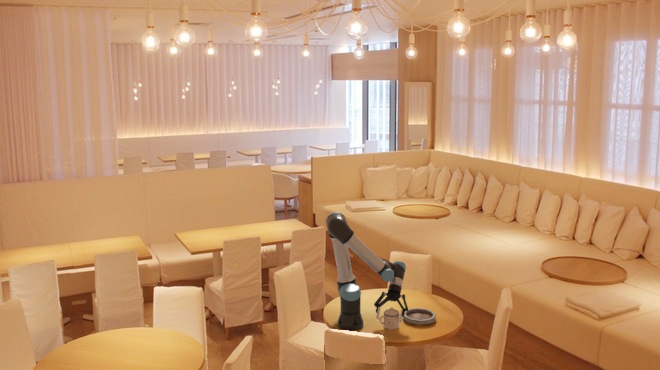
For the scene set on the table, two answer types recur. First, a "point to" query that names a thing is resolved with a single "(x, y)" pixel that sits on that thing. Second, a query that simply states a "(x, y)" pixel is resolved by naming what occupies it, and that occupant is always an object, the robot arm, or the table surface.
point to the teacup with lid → (390, 319)
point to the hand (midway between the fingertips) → (388, 319)
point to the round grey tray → (419, 317)
